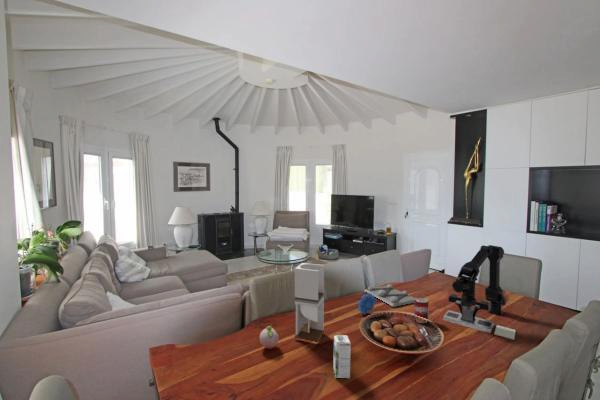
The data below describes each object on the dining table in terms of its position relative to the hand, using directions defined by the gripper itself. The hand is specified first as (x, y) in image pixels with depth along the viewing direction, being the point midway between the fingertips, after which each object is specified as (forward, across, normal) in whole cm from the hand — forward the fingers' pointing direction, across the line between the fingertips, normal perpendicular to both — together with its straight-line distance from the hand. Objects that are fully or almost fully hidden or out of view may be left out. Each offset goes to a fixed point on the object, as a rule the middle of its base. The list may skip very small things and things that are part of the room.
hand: (468, 317), depth 156 cm
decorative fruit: (+3, -65, -87) cm, 109 cm away
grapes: (+3, -48, -25) cm, 54 cm away
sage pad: (+3, +16, 0) cm, 17 cm away
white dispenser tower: (+3, -57, -67) cm, 88 cm away
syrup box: (+3, -30, -81) cm, 86 cm away
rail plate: (+3, 0, 0) cm, 3 cm away
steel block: (+3, 0, 0) cm, 3 cm away
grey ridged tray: (+4, -47, +8) cm, 48 cm away
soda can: (+3, -20, -15) cm, 25 cm away
